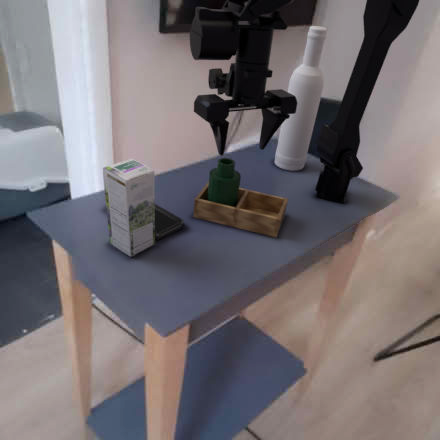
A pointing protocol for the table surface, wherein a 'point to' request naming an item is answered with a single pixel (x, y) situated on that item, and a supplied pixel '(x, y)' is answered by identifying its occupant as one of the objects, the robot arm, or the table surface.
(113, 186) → the syrup box
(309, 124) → the bottle
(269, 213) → the wooden divided tray
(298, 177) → the table surface
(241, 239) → the table surface
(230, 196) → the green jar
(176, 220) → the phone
